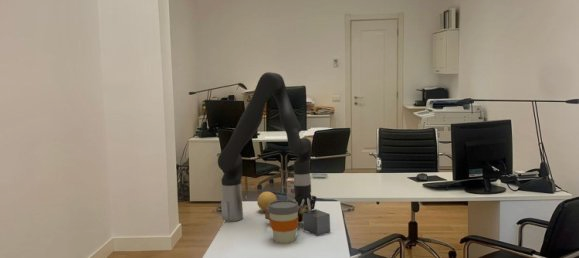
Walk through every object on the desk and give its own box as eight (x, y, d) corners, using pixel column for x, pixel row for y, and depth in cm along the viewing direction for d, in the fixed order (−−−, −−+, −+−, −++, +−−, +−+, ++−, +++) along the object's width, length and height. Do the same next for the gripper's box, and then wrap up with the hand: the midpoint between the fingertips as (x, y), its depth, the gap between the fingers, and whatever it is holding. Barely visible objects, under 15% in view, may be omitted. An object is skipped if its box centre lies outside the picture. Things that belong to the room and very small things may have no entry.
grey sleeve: (317, 235, 196) (316, 217, 195) (303, 230, 204) (303, 212, 203) (330, 232, 200) (329, 213, 199) (316, 226, 208) (315, 209, 207)
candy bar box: (286, 213, 229) (285, 180, 227) (287, 210, 234) (286, 178, 232) (309, 213, 228) (308, 180, 226) (310, 210, 233) (309, 177, 231)
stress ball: (277, 214, 230) (283, 198, 237) (267, 203, 225) (273, 186, 231) (261, 215, 236) (267, 199, 242) (251, 204, 230) (257, 188, 236)
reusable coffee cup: (265, 243, 190) (263, 207, 188) (276, 232, 202) (274, 199, 200) (294, 245, 186) (292, 209, 184) (303, 235, 197) (302, 200, 196)
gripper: (309, 179, 214) (311, 215, 216) (284, 184, 206) (285, 222, 208) (320, 181, 208) (321, 219, 210) (294, 187, 200) (295, 226, 202)
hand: (303, 220), depth 209 cm, fingers closed on brass bar, 4 cm apart
